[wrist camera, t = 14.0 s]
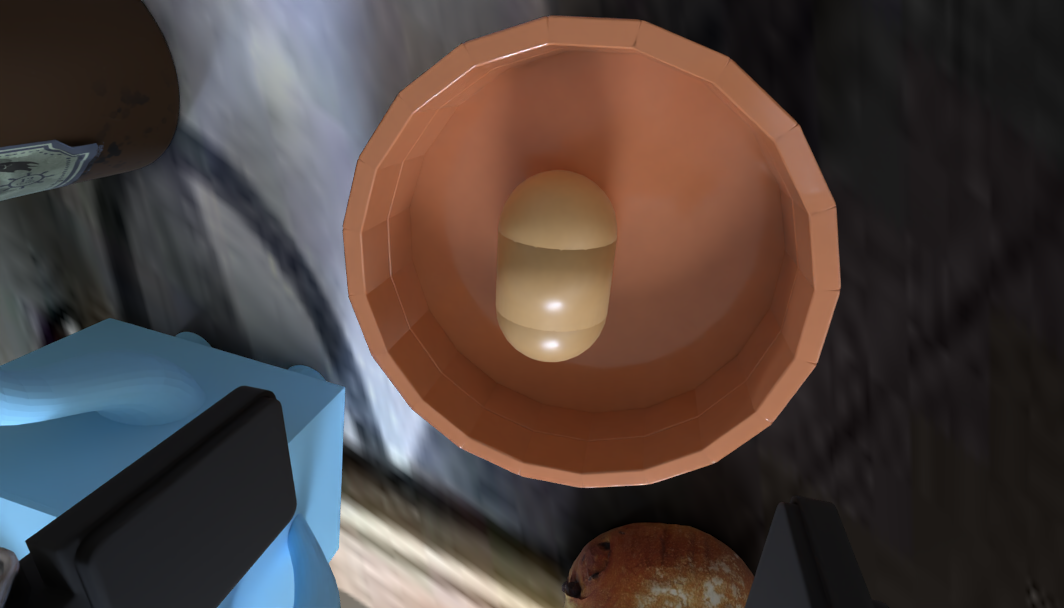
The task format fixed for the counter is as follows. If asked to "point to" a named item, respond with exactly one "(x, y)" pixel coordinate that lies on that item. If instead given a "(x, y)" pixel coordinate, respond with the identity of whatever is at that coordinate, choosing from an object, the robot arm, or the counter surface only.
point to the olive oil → (81, 92)
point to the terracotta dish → (640, 257)
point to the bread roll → (657, 570)
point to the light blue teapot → (148, 419)
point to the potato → (555, 265)
